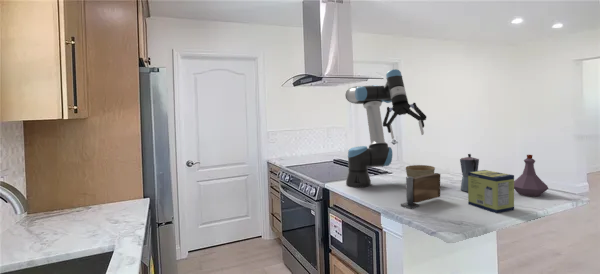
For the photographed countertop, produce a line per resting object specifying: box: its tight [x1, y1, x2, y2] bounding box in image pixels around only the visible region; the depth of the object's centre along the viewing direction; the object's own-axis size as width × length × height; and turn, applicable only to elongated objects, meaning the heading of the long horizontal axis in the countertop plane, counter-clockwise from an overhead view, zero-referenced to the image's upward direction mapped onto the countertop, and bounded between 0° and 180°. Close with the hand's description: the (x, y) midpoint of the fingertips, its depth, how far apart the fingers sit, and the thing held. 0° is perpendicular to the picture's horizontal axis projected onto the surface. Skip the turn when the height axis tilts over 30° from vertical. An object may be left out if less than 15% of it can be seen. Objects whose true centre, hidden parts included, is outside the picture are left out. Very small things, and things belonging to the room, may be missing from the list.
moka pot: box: [459, 153, 480, 193], centre depth 176 cm, size 10×15×20 cm, turn 174°
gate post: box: [400, 176, 420, 210], centre depth 154 cm, size 6×6×14 cm
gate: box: [413, 172, 441, 204], centre depth 160 cm, size 3×18×12 cm, turn 119°
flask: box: [514, 154, 549, 198], centre depth 166 cm, size 16×16×20 cm
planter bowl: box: [405, 164, 436, 177], centre depth 194 cm, size 16×16×11 cm
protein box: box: [467, 169, 515, 214], centre depth 148 cm, size 10×16×16 cm
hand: (407, 136), depth 154 cm, fingers open, 13 cm apart
